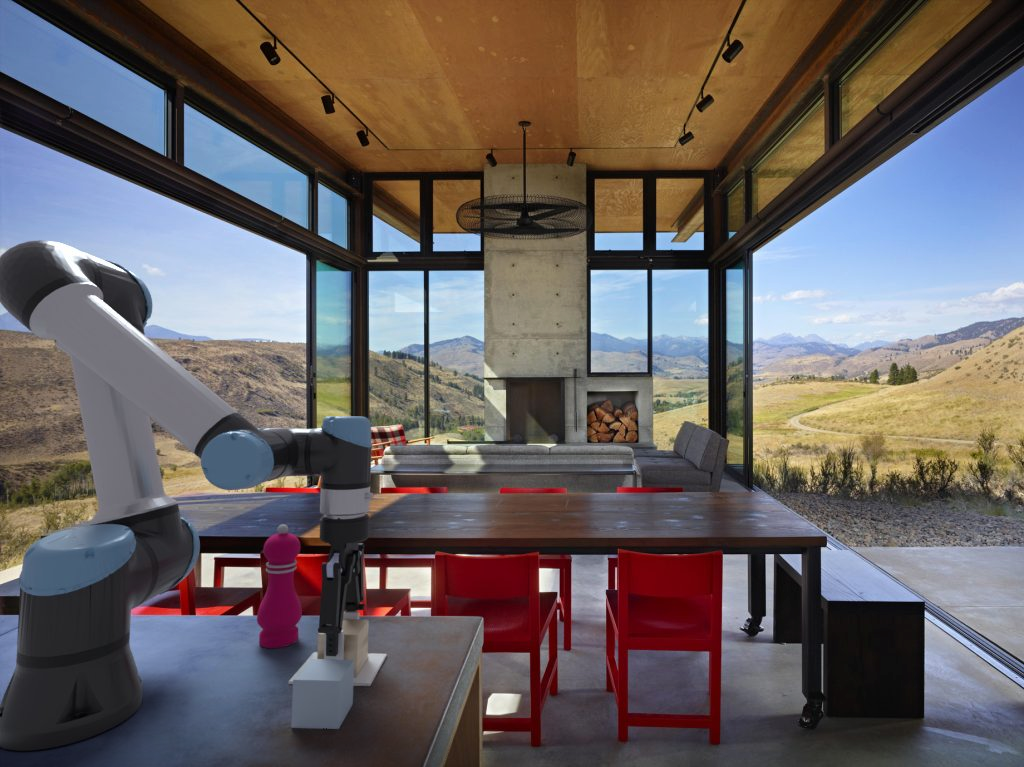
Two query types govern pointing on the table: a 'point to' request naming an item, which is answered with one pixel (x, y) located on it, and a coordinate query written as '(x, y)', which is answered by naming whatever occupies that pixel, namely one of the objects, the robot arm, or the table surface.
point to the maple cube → (351, 642)
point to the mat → (365, 673)
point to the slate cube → (322, 694)
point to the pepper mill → (280, 592)
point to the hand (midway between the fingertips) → (341, 663)
